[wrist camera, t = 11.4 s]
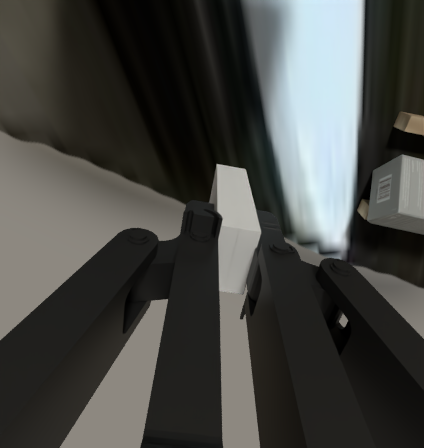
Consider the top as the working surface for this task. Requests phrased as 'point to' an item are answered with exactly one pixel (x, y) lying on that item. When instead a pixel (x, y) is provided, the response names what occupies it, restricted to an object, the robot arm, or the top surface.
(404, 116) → the u rest
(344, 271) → the robot arm
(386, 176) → the skincare box
